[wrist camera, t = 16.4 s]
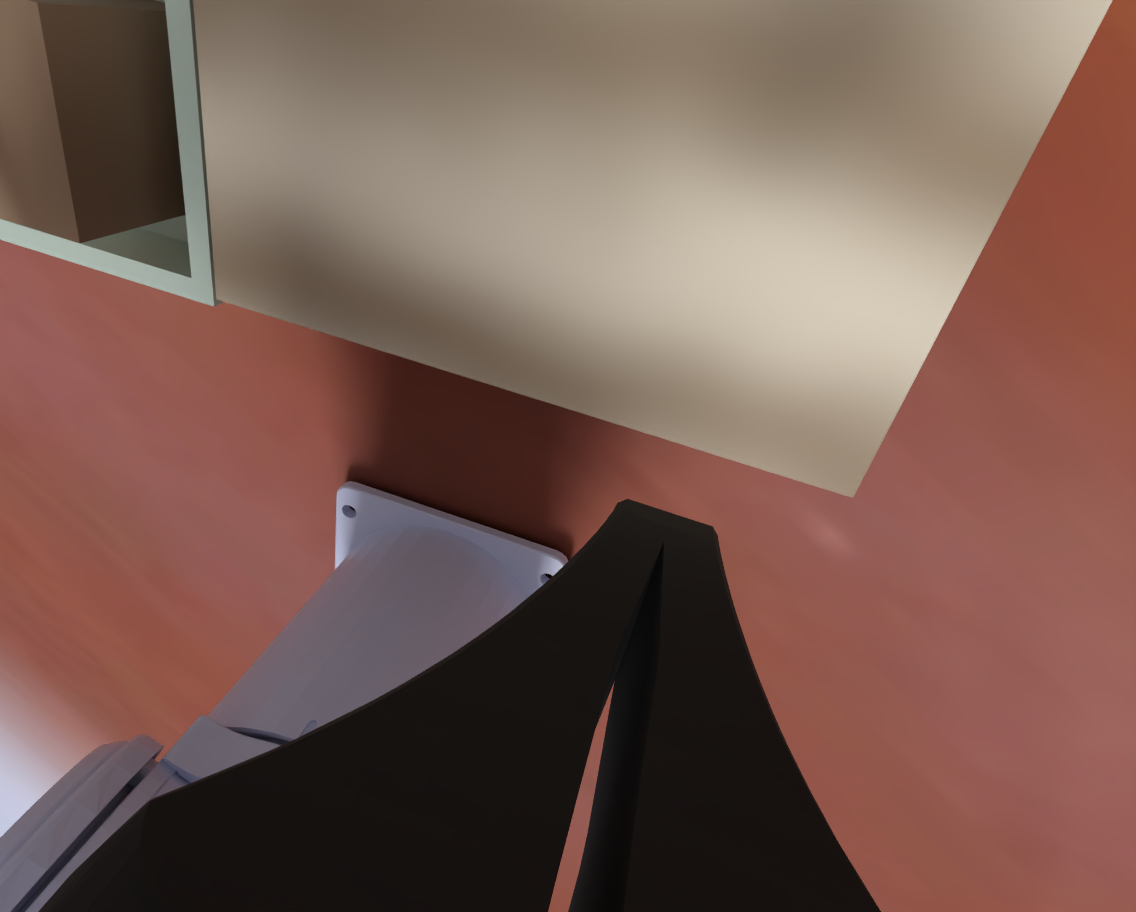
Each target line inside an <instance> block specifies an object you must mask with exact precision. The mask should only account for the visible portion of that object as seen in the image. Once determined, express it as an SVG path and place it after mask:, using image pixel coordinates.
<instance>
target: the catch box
mask: <svg viewBox="0 0 1136 912" xmlns="http://www.w3.org/2000/svg"><path fill="white" fill-rule="evenodd" d="M156 1H159V2H163V3H165V8H166V18H167V28H168V39H169V49H170V59H171V70H172V80H173V90H174V101H175V111H176V121H177V132H178V142H179V152H180V163H181V173H182V183H183V194H184V204H185V214H186V215H183V216H179V217H176V218H172V219H168V220H165V221H161V222H157V223H153V224H150V225H146V226H142V227H139V228H135V229H131V230H128V231H124V232H120V233H117V234H113V235H109V236H106V237H102V238H98V239H94V240H91V241H87V242H83V243H77V242H74V241H70V240H67V239H64V238H61V237H58V236H55V235H51V234H48V233H45V232H42V231H39V230H35V229H32V228H29V227H26V226H23V225H20V224H16V223H13V222H10V221H7V220H4V219H0V240H3V241H7V242H10V243H13V244H16V245H19V246H23V247H26V248H29V249H32V250H35V251H38V252H42V253H45V254H48V255H51V256H54V257H58V258H61V259H64V260H67V261H70V262H74V263H77V264H80V265H83V266H86V267H90V268H93V269H96V270H99V271H102V272H105V273H109V274H112V275H115V276H118V277H121V278H125V279H128V280H131V281H134V282H137V283H141V284H144V285H147V286H150V287H153V288H157V289H160V290H163V291H166V292H169V293H173V294H176V295H179V296H182V297H185V298H188V299H192V300H195V301H198V302H201V303H204V304H208V305H211V306H216V305H219V304H221V303H223V301H220V300H217V299H216V286H215V273H214V260H213V248H212V235H211V222H210V209H209V196H208V184H207V171H206V158H205V145H204V132H203V120H202V107H201V94H200V81H199V68H198V56H197V43H196V30H195V17H194V4H193V0H156Z"/></svg>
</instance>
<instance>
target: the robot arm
mask: <svg viewBox="0 0 1136 912" xmlns="http://www.w3.org/2000/svg"><path fill="white" fill-rule="evenodd" d="M349 505H350V506H351V507H353V508H354V509H355V511H353V510H352V509H351V508H350V507H349ZM545 573H546V574H550V575H552V577H551V578H548V577H547V576H546V575H545ZM614 681H615V682H614ZM613 683H614V688H613V693H612V699H611V704H610V710H609V715H608V721H607V727H606V732H605V738H604V743H603V749H602V755H601V760H600V766H599V772H598V777H597V783H596V789H595V794H594V800H593V806H592V811H591V817H590V823H589V828H588V834H587V838H586V843H585V848H584V852H583V857H582V861H581V866H580V870H579V874H578V878H577V881H576V885H575V889H574V893H573V896H572V900H571V904H570V907H569V911H568V912H881V911H880V910H879V908H878V906H877V905H876V903H875V901H874V900H873V898H872V896H871V895H870V893H869V892H868V890H867V888H866V887H865V885H864V883H863V882H862V880H861V879H860V877H859V875H858V874H857V872H856V870H855V869H854V867H853V866H852V864H851V862H850V861H849V859H848V857H847V856H846V854H845V852H844V851H843V849H842V848H841V846H840V844H839V843H838V841H837V839H836V837H835V836H834V834H833V832H832V830H831V828H830V826H829V825H828V823H827V821H826V819H825V817H824V815H823V814H822V812H821V810H820V808H819V806H818V804H817V803H816V801H815V799H814V797H813V795H812V793H811V791H810V790H809V788H808V786H807V784H806V782H805V780H804V778H803V776H802V774H801V772H800V770H799V768H798V766H797V764H796V762H795V760H794V758H793V756H792V754H791V751H790V749H789V747H788V745H787V743H786V741H785V739H784V736H783V734H782V732H781V730H780V728H779V725H778V723H777V721H776V719H775V716H774V714H773V712H772V709H771V707H770V704H769V702H768V699H767V697H766V695H765V692H764V690H763V687H762V685H761V682H760V680H759V677H758V675H757V672H756V669H755V667H754V664H753V661H752V659H751V656H750V653H749V650H748V647H747V644H746V641H745V638H744V635H743V632H742V629H741V626H740V623H739V620H738V617H737V614H736V611H735V607H734V604H733V601H732V597H731V594H730V590H729V586H728V582H727V579H726V575H725V571H724V566H723V562H722V557H721V553H720V547H719V542H718V536H717V534H716V532H715V530H714V528H713V527H712V526H709V525H706V524H703V523H700V522H697V521H694V520H691V519H688V518H685V517H682V516H678V515H675V514H672V513H669V512H666V511H663V510H660V509H657V508H654V507H651V506H648V505H645V504H642V503H638V502H635V501H632V500H629V499H626V500H624V501H621V502H619V503H617V505H616V507H615V509H614V510H613V512H612V513H611V515H610V516H609V517H608V519H607V520H606V521H605V523H604V524H603V525H602V526H601V527H600V529H599V530H598V531H597V532H596V533H595V534H594V535H593V537H592V538H591V539H590V540H589V541H588V542H587V543H586V544H585V545H584V546H583V547H582V549H580V550H579V551H578V552H577V553H576V554H575V555H574V556H573V557H572V558H571V559H570V560H569V561H568V560H567V557H566V556H565V555H564V554H563V553H561V552H559V551H557V550H555V549H552V548H549V547H546V546H543V545H540V544H537V543H534V542H531V541H528V540H525V539H522V538H519V537H516V536H513V535H510V534H507V533H504V532H502V531H499V530H496V529H493V528H490V527H487V526H484V525H481V524H478V523H475V522H472V521H469V520H466V519H463V518H460V517H457V516H454V515H451V514H448V513H445V512H442V511H439V510H436V509H434V508H431V507H428V506H425V505H422V504H419V503H416V502H413V501H410V500H407V499H404V498H401V497H398V496H395V495H392V494H389V493H386V492H383V491H380V490H377V489H374V488H371V487H368V486H366V485H363V484H360V483H357V482H352V481H349V482H346V483H344V484H343V485H342V486H341V487H340V488H339V489H338V491H337V497H336V541H335V570H334V572H333V573H332V574H331V575H330V576H329V577H328V578H327V580H326V581H325V582H324V583H323V584H322V585H321V586H320V588H319V589H318V590H317V591H316V592H315V593H314V594H313V596H312V597H311V598H310V599H309V600H308V601H307V602H306V604H305V605H304V606H303V607H302V608H301V609H300V610H299V612H298V613H297V614H296V615H295V616H294V617H293V618H292V620H291V621H290V622H289V623H288V624H287V625H286V627H285V628H284V629H283V630H282V631H281V632H280V633H279V635H278V636H277V637H276V638H275V639H274V640H273V641H272V643H271V644H270V645H269V646H268V647H267V648H266V649H265V651H264V652H263V653H262V654H261V655H260V656H259V657H258V659H257V660H256V661H255V662H254V663H253V664H252V665H251V667H250V668H249V669H248V670H247V671H246V672H245V673H244V675H243V676H242V677H241V678H240V679H239V680H238V681H237V683H236V684H235V685H234V686H233V687H232V688H231V690H230V691H229V692H228V693H227V694H226V695H225V696H224V698H223V699H222V700H221V701H220V702H219V703H218V704H217V706H216V707H215V708H214V709H213V710H212V711H211V712H210V714H209V715H208V716H205V715H201V716H199V717H198V719H197V720H196V721H195V722H194V723H193V724H192V725H191V726H190V728H189V729H188V730H187V731H186V732H185V733H184V734H183V735H182V737H181V738H180V739H179V740H178V741H177V742H176V743H175V745H174V746H173V747H172V748H171V749H170V750H169V751H168V752H167V754H166V755H165V756H164V757H163V758H162V759H161V761H160V762H157V761H156V760H155V759H156V757H157V756H158V755H159V754H160V752H161V750H162V748H163V747H164V746H163V745H161V744H160V743H158V742H157V741H155V740H154V739H153V738H151V737H150V736H148V735H145V734H143V735H138V736H136V737H134V738H133V739H131V740H130V741H129V742H128V741H119V742H114V743H109V744H104V745H101V746H100V747H98V748H96V749H95V750H94V751H92V752H91V753H90V754H88V755H87V756H86V757H85V758H84V759H82V760H81V761H80V762H79V763H78V764H77V765H75V766H74V767H73V768H72V769H71V770H70V771H69V772H68V773H66V774H65V775H64V776H63V777H62V778H61V779H60V780H59V781H58V782H57V783H56V784H55V785H54V786H52V787H51V788H50V789H49V790H48V791H47V792H46V793H45V794H44V795H43V796H42V797H41V798H40V799H39V800H38V801H37V802H36V803H35V804H34V805H33V806H32V807H31V808H30V809H29V810H28V811H27V812H26V813H25V814H24V815H23V816H22V817H21V818H20V819H19V820H18V821H17V822H16V823H15V824H14V825H13V826H12V827H11V828H10V829H9V830H8V831H7V832H6V833H5V834H4V835H3V836H2V837H1V838H0V912H548V909H549V905H550V901H551V897H552V893H553V889H554V885H555V881H556V877H557V873H558V869H559V866H560V862H561V858H562V854H563V850H564V846H565V842H566V838H567V835H568V831H569V827H570V823H571V819H572V815H573V811H574V807H575V804H576V800H577V796H578V792H579V788H580V784H581V781H582V777H583V773H584V769H585V765H586V762H587V758H588V754H589V750H590V747H591V743H592V739H593V735H594V731H595V728H596V726H597V723H598V721H599V718H600V716H601V713H602V711H603V708H604V706H605V703H606V701H607V698H608V696H609V693H610V691H611V688H612V686H613Z"/></svg>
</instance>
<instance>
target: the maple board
mask: <svg viewBox="0 0 1136 912" xmlns="http://www.w3.org/2000/svg"><path fill="white" fill-rule="evenodd" d="M1111 2H1112V0H193V4H194V17H195V30H196V43H197V56H198V68H199V81H200V94H201V107H202V120H203V132H204V145H205V158H206V171H207V184H208V196H209V209H210V222H211V235H212V248H213V260H214V273H215V286H216V299H217V300H220V301H223V302H226V303H230V304H233V305H236V306H239V307H242V308H246V309H249V310H252V311H255V312H258V313H262V314H265V315H268V316H271V317H275V318H278V319H281V320H284V321H287V322H291V323H294V324H297V325H300V326H303V327H307V328H310V329H313V330H316V331H319V332H323V333H326V334H329V335H332V336H335V337H339V338H342V339H345V340H348V341H351V342H355V343H358V344H361V345H364V346H368V347H371V348H374V349H377V350H380V351H384V352H387V353H390V354H393V355H396V356H400V357H403V358H406V359H409V360H412V361H416V362H419V363H422V364H425V365H428V366H432V367H435V368H438V369H441V370H444V371H448V372H451V373H454V374H457V375H461V376H464V377H467V378H470V379H473V380H477V381H480V382H483V383H486V384H489V385H493V386H496V387H499V388H502V389H505V390H509V391H512V392H515V393H518V394H521V395H525V396H528V397H531V398H534V399H537V400H541V401H544V402H547V403H550V404H554V405H557V406H560V407H563V408H566V409H570V410H573V411H576V412H579V413H582V414H586V415H589V416H592V417H595V418H598V419H602V420H605V421H608V422H611V423H614V424H618V425H621V426H624V427H627V428H630V429H634V430H637V431H640V432H643V433H647V434H650V435H653V436H656V437H659V438H663V439H666V440H669V441H672V442H675V443H679V444H682V445H685V446H688V447H691V448H695V449H698V450H701V451H704V452H707V453H711V454H714V455H717V456H720V457H723V458H727V459H730V460H733V461H736V462H739V463H743V464H746V465H749V466H752V467H756V468H759V469H762V470H765V471H768V472H772V473H775V474H778V475H781V476H784V477H788V478H791V479H794V480H797V481H800V482H804V483H807V484H810V485H813V486H816V487H820V488H823V489H826V490H829V491H832V492H836V493H839V494H842V495H845V496H849V497H852V498H853V496H854V495H855V493H856V491H857V489H858V487H859V485H860V483H861V481H862V479H863V477H864V475H865V473H866V472H867V470H868V468H869V466H870V464H871V462H872V460H873V458H874V456H875V454H876V452H877V450H878V449H879V447H880V445H881V443H882V441H883V439H884V437H885V435H886V433H887V431H888V429H889V428H890V426H891V424H892V422H893V420H894V418H895V416H896V414H897V412H898V410H899V408H900V406H901V405H902V403H903V401H904V399H905V397H906V395H907V393H908V391H909V389H910V387H911V385H912V383H913V382H914V380H915V378H916V376H917V374H918V372H919V370H920V368H921V366H922V364H923V362H924V360H925V359H926V357H927V355H928V353H929V351H930V349H931V347H932V345H933V343H934V341H935V339H936V337H937V336H938V334H939V332H940V330H941V328H942V326H943V324H944V322H945V320H946V318H947V316H948V314H949V313H950V311H951V309H952V307H953V305H954V303H955V301H956V299H957V297H958V295H959V293H960V292H961V290H962V288H963V286H964V284H965V282H966V280H967V278H968V276H969V274H970V272H971V270H972V269H973V267H974V265H975V263H976V261H977V259H978V257H979V255H980V253H981V251H982V249H983V247H984V246H985V244H986V242H987V240H988V238H989V236H990V234H991V232H992V230H993V228H994V226H995V224H996V223H997V221H998V219H999V217H1000V215H1001V213H1002V211H1003V209H1004V207H1005V205H1006V203H1007V201H1008V200H1009V198H1010V196H1011V194H1012V192H1013V190H1014V188H1015V186H1016V184H1017V182H1018V180H1019V178H1020V177H1021V175H1022V173H1023V171H1024V169H1025V167H1026V165H1027V163H1028V161H1029V159H1030V157H1031V156H1032V154H1033V152H1034V150H1035V148H1036V146H1037V144H1038V142H1039V140H1040V138H1041V136H1042V134H1043V133H1044V131H1045V129H1046V127H1047V125H1048V123H1049V121H1050V119H1051V117H1052V115H1053V113H1054V111H1055V110H1056V108H1057V106H1058V104H1059V102H1060V100H1061V98H1062V96H1063V94H1064V92H1065V90H1066V88H1067V87H1068V85H1069V83H1070V81H1071V79H1072V77H1073V75H1074V73H1075V71H1076V69H1077V67H1078V65H1079V64H1080V62H1081V60H1082V58H1083V56H1084V54H1085V52H1086V50H1087V48H1088V46H1089V44H1090V43H1091V41H1092V39H1093V37H1094V35H1095V33H1096V31H1097V29H1098V27H1099V25H1100V23H1101V21H1102V20H1103V18H1104V16H1105V14H1106V12H1107V10H1108V8H1109V6H1110V4H1111Z"/></svg>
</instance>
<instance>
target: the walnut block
mask: <svg viewBox="0 0 1136 912" xmlns="http://www.w3.org/2000/svg"><path fill="white" fill-rule="evenodd" d="M183 215H186V214H185V204H184V194H183V183H182V173H181V163H180V152H179V142H178V132H177V121H176V111H175V101H174V90H173V80H172V70H171V59H170V49H169V39H168V28H167V18H166V8H165V3H163V2H159V1H156V0H0V219H4V220H7V221H10V222H13V223H16V224H20V225H23V226H26V227H29V228H32V229H35V230H39V231H42V232H45V233H48V234H51V235H55V236H58V237H61V238H64V239H67V240H70V241H74V242H77V243H83V242H87V241H91V240H94V239H98V238H102V237H106V236H109V235H113V234H117V233H120V232H124V231H128V230H131V229H135V228H139V227H142V226H146V225H150V224H153V223H157V222H161V221H165V220H168V219H172V218H176V217H179V216H183Z"/></svg>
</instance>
